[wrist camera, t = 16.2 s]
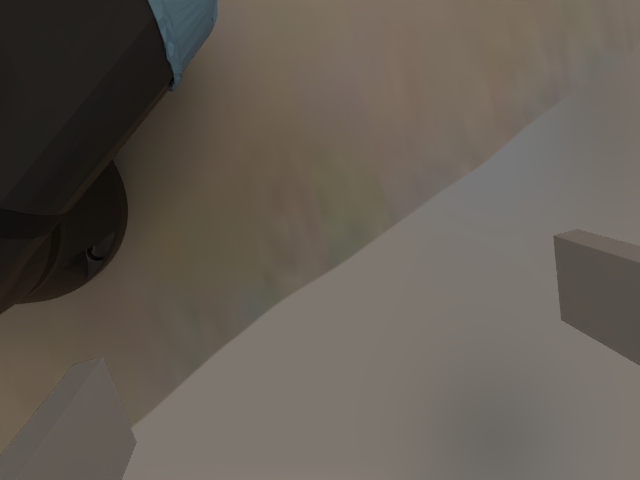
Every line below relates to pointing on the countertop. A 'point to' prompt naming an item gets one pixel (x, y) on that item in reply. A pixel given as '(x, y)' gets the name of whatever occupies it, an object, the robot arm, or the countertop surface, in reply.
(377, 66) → the countertop surface
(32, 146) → the robot arm
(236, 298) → the countertop surface
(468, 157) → the countertop surface
